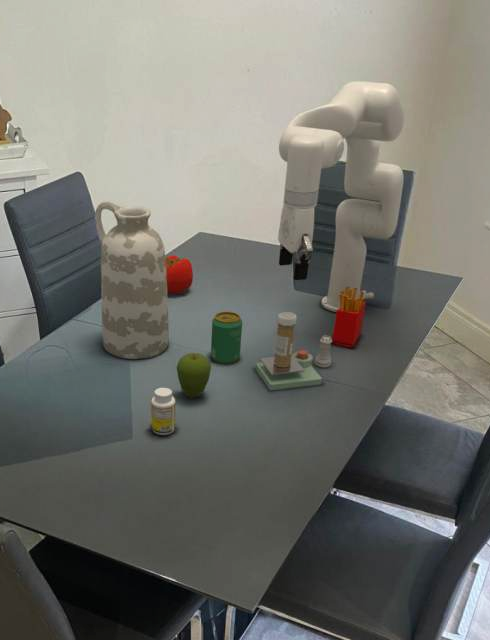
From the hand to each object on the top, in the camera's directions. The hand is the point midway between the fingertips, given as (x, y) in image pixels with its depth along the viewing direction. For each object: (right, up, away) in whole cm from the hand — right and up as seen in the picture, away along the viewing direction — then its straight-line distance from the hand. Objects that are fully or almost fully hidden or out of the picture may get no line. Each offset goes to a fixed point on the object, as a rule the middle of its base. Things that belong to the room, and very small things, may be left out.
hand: (292, 271), depth 177 cm
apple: (-23, -28, +10) cm, 38 cm away
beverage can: (-14, -15, +26) cm, 34 cm away
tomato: (-28, +15, +64) cm, 71 cm away
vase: (-39, -10, +33) cm, 52 cm away
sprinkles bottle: (0, -19, +15) cm, 25 cm away
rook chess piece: (+12, -18, +23) cm, 32 cm away
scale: (+2, -22, +18) cm, 28 cm away
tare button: (+6, -17, +20) cm, 26 cm away
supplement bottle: (-31, -38, -2) cm, 49 cm away
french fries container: (+22, -8, +35) cm, 42 cm away
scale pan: (0, -19, +15) cm, 25 cm away
